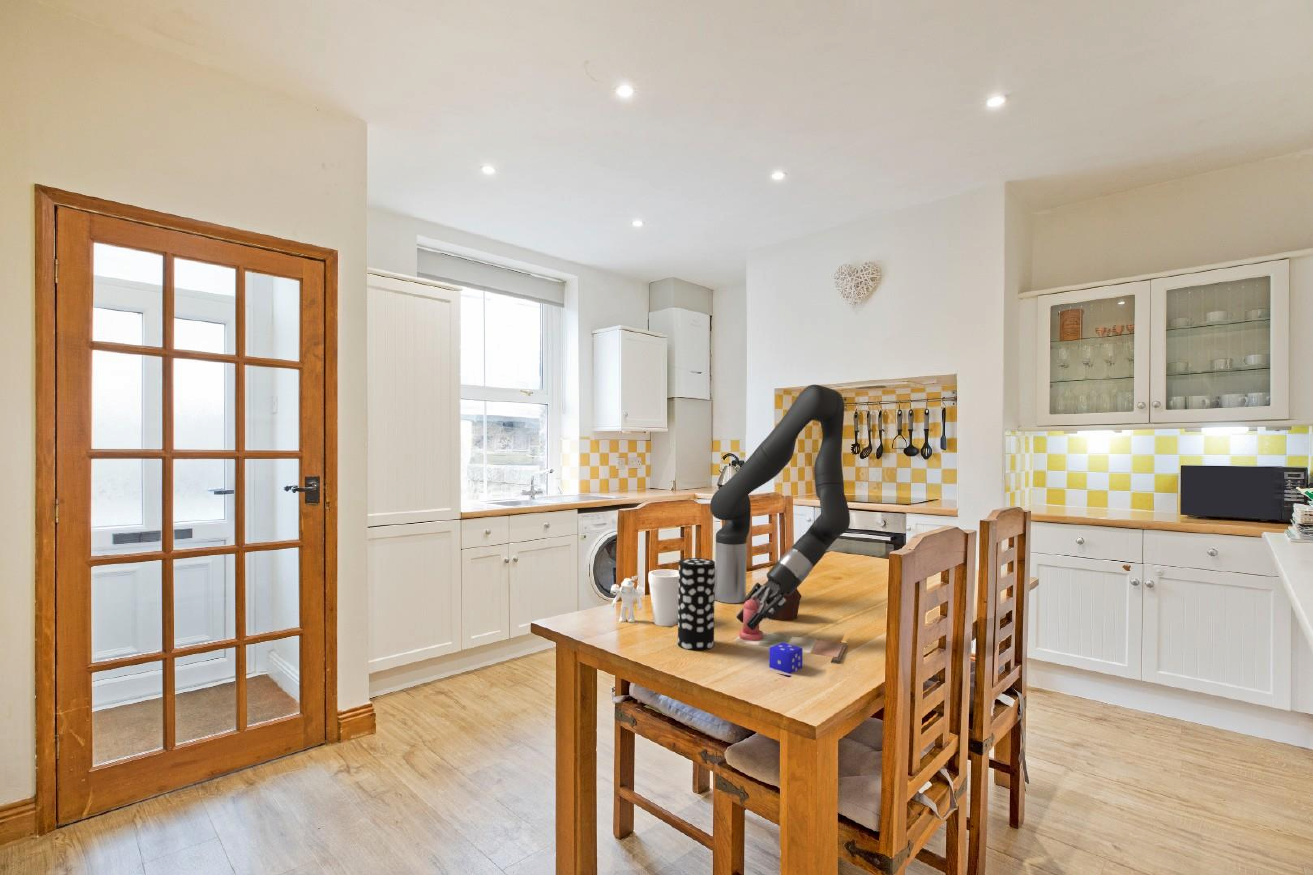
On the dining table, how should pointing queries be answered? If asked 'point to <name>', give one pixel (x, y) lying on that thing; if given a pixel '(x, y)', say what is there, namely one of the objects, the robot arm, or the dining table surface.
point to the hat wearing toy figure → (627, 597)
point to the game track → (802, 645)
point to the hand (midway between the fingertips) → (744, 623)
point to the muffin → (789, 607)
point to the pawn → (748, 612)
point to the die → (785, 658)
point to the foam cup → (664, 596)
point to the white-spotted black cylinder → (696, 604)
